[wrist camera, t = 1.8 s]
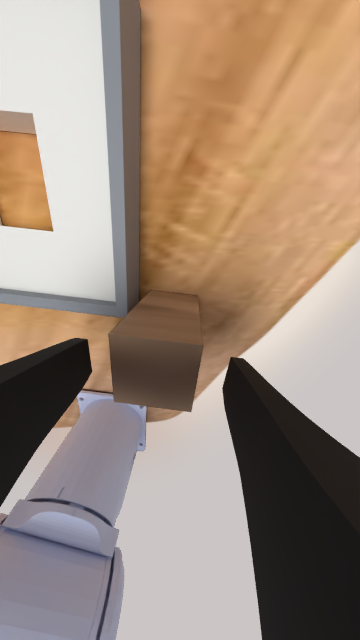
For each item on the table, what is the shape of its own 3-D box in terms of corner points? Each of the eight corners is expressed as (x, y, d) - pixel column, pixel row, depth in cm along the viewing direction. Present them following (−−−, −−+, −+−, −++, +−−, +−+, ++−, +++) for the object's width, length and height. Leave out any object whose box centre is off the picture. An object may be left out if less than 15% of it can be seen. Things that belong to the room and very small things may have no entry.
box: (139, 305, 15) (127, 318, 12) (-35, 284, 15) (-85, 293, 12) (140, 9, 9) (116, -104, 6) (-159, -16, 9) (-317, -136, 6)
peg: (191, 336, 16) (191, 412, 9) (149, 331, 16) (113, 402, 9) (197, 295, 14) (203, 345, 7) (150, 290, 14) (108, 333, 7)
